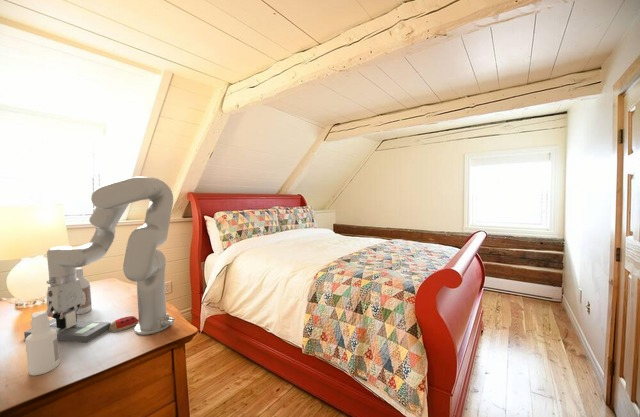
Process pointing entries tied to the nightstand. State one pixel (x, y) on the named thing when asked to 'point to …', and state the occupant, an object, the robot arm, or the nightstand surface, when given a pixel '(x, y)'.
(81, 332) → the mixing desk
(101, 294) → the nightstand surface
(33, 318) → the white bottle
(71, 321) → the fader knob
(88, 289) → the bath foam
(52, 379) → the nightstand surface
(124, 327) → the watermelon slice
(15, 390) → the nightstand surface
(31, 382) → the nightstand surface
